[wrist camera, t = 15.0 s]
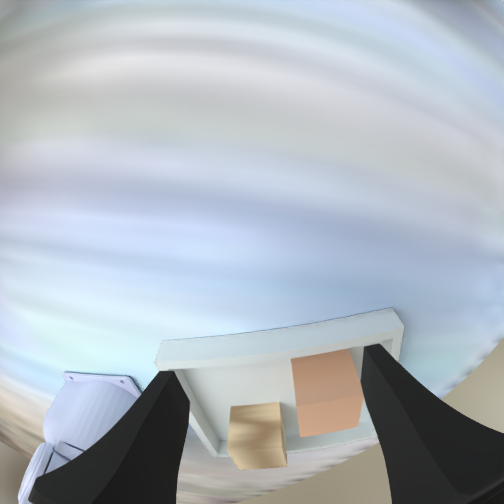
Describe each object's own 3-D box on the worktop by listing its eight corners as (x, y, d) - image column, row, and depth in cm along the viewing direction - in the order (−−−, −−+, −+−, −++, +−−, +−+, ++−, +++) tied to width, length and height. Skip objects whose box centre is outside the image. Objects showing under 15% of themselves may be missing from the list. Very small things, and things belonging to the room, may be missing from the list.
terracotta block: (294, 390, 23) (299, 437, 18) (290, 355, 21) (296, 406, 16) (345, 381, 22) (357, 426, 18) (347, 345, 21) (364, 393, 16)
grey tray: (215, 439, 28) (212, 457, 25) (162, 340, 21) (153, 361, 19) (372, 419, 26) (377, 436, 24) (392, 307, 20) (404, 326, 17)
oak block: (241, 429, 26) (238, 469, 21) (230, 406, 24) (226, 450, 19) (284, 425, 25) (287, 466, 21) (279, 401, 23) (281, 447, 19)
